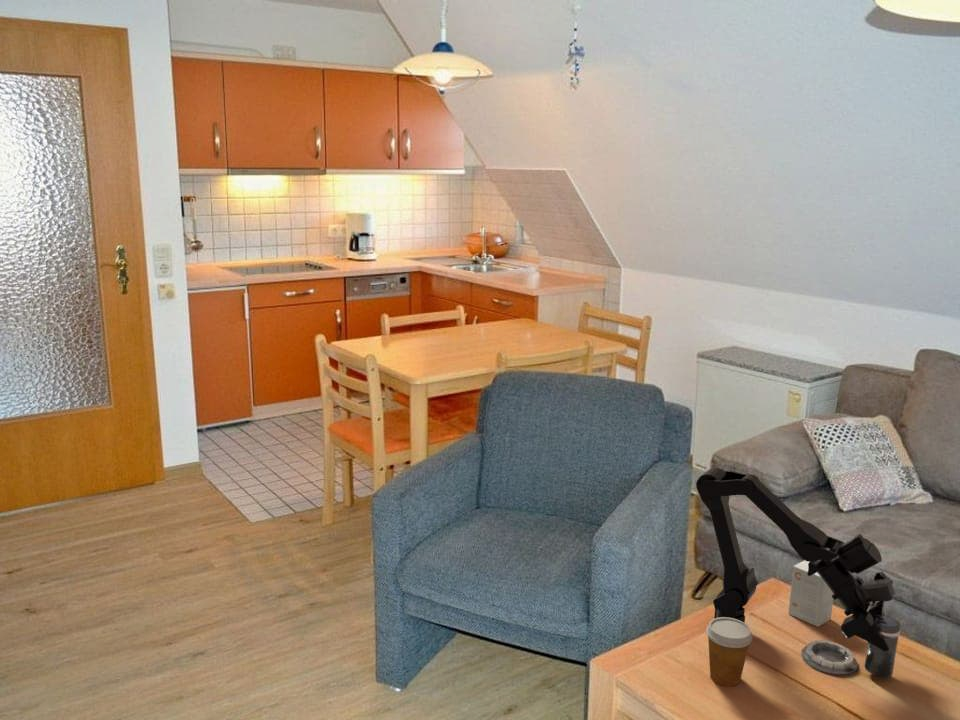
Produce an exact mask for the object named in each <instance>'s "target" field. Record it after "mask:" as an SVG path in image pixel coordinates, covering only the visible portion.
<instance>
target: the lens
mask: <svg viewBox="0 0 960 720" xmlns="http://www.w3.org/2000/svg"><path fill="white" fill-rule="evenodd" d="M872 617H873V619H875V618H877V625H876V626H877V628H878V630H879V632H880V633H881V635H882V637H883V638H884V640H885V642H886V643H887V645H888V647H889V650H888V651H883V650H881V649H880V648H878V647H876V646H874V645H873V644H871V643H869V642H867V647H866V653H865V658H864V659H865V660H864V668H865V670H866V671H867V672H869V674H872V675H873V676H877V677H881V678H888V677H891V676H892V675H893V673H894V667H895V661H896V654H897V647H898V641H899V637H900V633H901V623H900V622H899V620H897V619H896V618H893V617H892V616H889V615H886V614H884V615H874V616H872Z"/></svg>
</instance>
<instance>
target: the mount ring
mask: <svg viewBox="0 0 960 720" xmlns="http://www.w3.org/2000/svg"><path fill="white" fill-rule="evenodd" d="M800 655H801V658H803V659H802V660H803V661H804V662H806V663H805V664H807V665H808V666H809V667H810V668H812V669H814V670H816V671H819V672H821V673H823V674H827V675H831V676H847V675H852V674H853V673H855V672H856V671H857V668H858V661H857V659H856V658H855V656H854V654H853V652H851V650H850V649H849V648H847V647H845V646H844V645H841V644H840V643H837V642H833V641H829V640H818V639H817V640H813V641H811V642H808V643H807V645H806V646H804V647H803V648H802V650H801V654H800Z"/></svg>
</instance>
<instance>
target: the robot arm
mask: <svg viewBox="0 0 960 720" xmlns="http://www.w3.org/2000/svg"><path fill="white" fill-rule="evenodd" d="M695 489H696V491H697V493H698V495H699V498H700V500H701V501H702V503H703V504H704V505H705V507H706V509H708V511H709V514H710V517H711V521H712V526H713V529H714V534H715V538H716V541H717V544H718V545H717V546H718V550H719V552H720V553H719V554H720V556H721V561H722V564H723V565H722V566H723V578H722V589H721V590H720V592H719V593H718V594H717V596H715V598H714V599H713V600H712V603H713V606H714V617H713V619H715V618H719V617H727V618H734V619H737V620H740V621H742V622H744V623H745V624H746V621H745V620H746V616H745V610H746V608H745V606H746V605H747V604H748V603H749V601H750V600H751V599H752V597H753V596H754V594H755V593H756V591H757V586H758V585H759V582H758V580H757V578H756V573H755V568H754V567H751V568H748V567H747V565H746V564H745V563H744V559H743V556H742V552H741V548H740V545H739V541H738V540H739V539H738V536H737V533H736V529H735V524H734V521H733V517H732V513H731V510H730V497H731V496H745V497H746V498H747V499H748V500H749V501H751V502H752V504H754V505H755V507H757V508H758V509H759V510H760V511H761V512H762V513H763V514H764V515H765V516H766V517H767V518H769V520H771V522H773V523H774V524H775V526H776V527H778V528H779V529H780V530H781V531H782V532H783V534H784V535H785V537H786V538H787V540H788V543H789V544H790V546H791V547H792V548H793V550H794V551H795V552H796V554H797V555H798V556H799V557H800V559H801V560H803V561H804V560H805V561H807V562H808V561H810V562H809V563H808V573H807V575H808V576H811V575H813V574H815V573H818V574H819V575H820V577H821V578H822V579H823V580H824V582H825V583H826V584H827V586H828V587H829V588H830V589H831V591H832V592H833V594H832V598H833V601H835V600H838V601H839V603H840V604H841V605H842V606H843V608H844V612H843V613H844V615H845V616H846V618H844V619H843V621H842V624H841V626H840V627H841V628H840V631H841V633H842V635H843V636H844V638H846V639H850V638H852V637H854V636H855V637H858V638H860V639H862V640H863V641H865V642H867V643H868V642H869V643H871V644H873V645H874V646H876V647H878V648H880V649H881V650H883V651H888V650H889V647H888V645H887V643H886V642H885V640H884V638H883V637H882V635H881V633H880V632H879V630H878V628H877V626H876V625H877V618H875V619H873V617H872V616H874V615H885V612H884V607H885V603H886V602H890V601H892V600H893V599H894V595H895V594H896V592H895V590H894V587H893V586H894V585H893V583H894V581H893V580H892V579H891V578H890V577H888V576H887V575H886V573H884V572H883V571H877V572H875V574H874V577H873V579H871V578H870V580H869V581H864V580H863V579H862V578H861V577H859V576H854V575H853V574H861V573H862V572H864V571H866V570H868V569H871V567H874V566H875V565H877V564H879V563H881V562H882V555H881V553H880V551H879V549H878V547H877V546H876V545H875V543H874V542H872V541H870V540H869V539H868V538H865V537H864V536H863V535H862V534H861V533H858V534H857V535H855V536H853V538H852V539H850V540H848V541H847V542H844V541H843V540H839V539H837V538H835V537H832V536H829V535H827V534H826V532H824V531H823V530H821V528H819V527H818V526H815V524H813V523H812V522H808V521H806V520H803V519H802V518H800V517H799V516H798V515H796V514H795V513H794V511H792V509H790V507H788V506H787V505H786V503H784V502H782V500H781V499H780V498H779V497H777V496H776V495H775V494H774V493H773V492H772V491H771V489H769V488H768V487H767V486H766V485H765V484H764V483H763V482H761V480H760V478H759V477H758V476H757V475H755V474H752V473H750V474H749V473H742V472H738V471H734V470H733V471H732V470H724V469H722V468H720V467H711V468H709V469H708V470H706V471H705V472H703V474H702V475H700V476H699V477H698V479H697V481H696V483H695Z"/></svg>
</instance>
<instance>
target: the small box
mask: <svg viewBox="0 0 960 720" xmlns="http://www.w3.org/2000/svg"><path fill="white" fill-rule="evenodd" d="M809 562H810V561H808V562H807V561H805V560H803V561H800V562H798V563H796V564H794V565H793V569H792V574H791V575H792V576H791V585H790V594H789V604H788V614H789V615H790V616H793V617H794V618H797V619H799V620H802V621H804V622H807V623H808V624H810V625H813V626H815V627H817V628H818V627H820V626H822V625H824V624H826V623H827V622H828V621H830V620H831V619H832V614H833V607H834V606H833V604H834V599H833V598H832V594H833V592H832V591H831V589H830V588H829V587H828V586H827V584H826V583H825V582H824V580H823V579H822V578H821V577H820V575H819V574H818V573H815V574H813V575H811V576H808V575H807V573H808V563H809Z"/></svg>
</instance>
